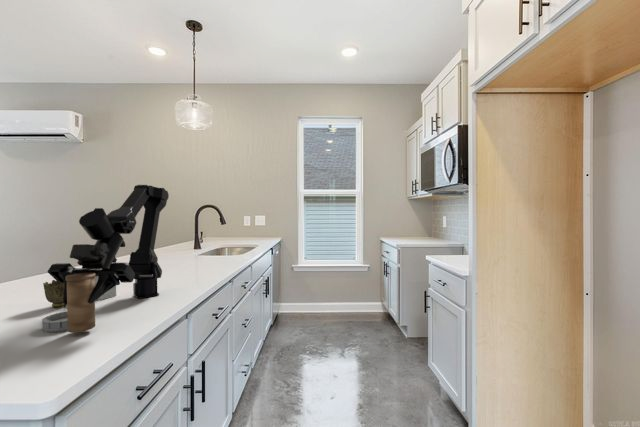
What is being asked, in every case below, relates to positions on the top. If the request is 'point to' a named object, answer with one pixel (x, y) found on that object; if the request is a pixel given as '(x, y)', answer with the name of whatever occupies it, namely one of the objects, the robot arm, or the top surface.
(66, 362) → the top surface
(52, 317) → the ring
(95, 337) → the top surface
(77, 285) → the brown cylinder
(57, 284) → the ornate scalloped vase
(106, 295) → the small box
